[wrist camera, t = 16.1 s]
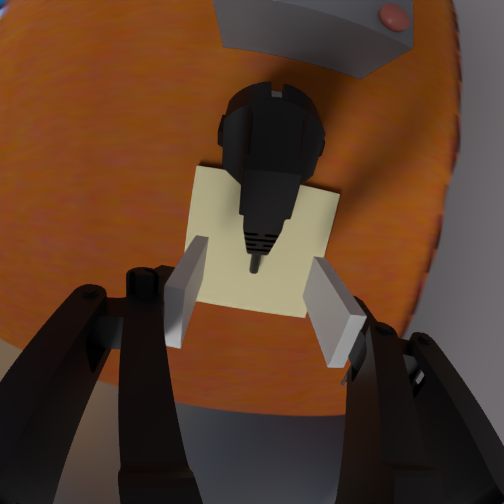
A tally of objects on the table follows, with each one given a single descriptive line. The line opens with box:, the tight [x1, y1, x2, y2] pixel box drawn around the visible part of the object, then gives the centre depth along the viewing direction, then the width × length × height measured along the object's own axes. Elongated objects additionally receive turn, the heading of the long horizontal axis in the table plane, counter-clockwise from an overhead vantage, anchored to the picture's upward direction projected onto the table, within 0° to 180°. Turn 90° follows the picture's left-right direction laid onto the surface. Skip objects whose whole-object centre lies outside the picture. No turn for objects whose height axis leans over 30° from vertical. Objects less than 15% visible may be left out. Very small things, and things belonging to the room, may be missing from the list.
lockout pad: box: [184, 166, 340, 318], centre depth 20 cm, size 10×10×1 cm
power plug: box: [218, 82, 325, 274], centre depth 17 cm, size 6×8×12 cm
